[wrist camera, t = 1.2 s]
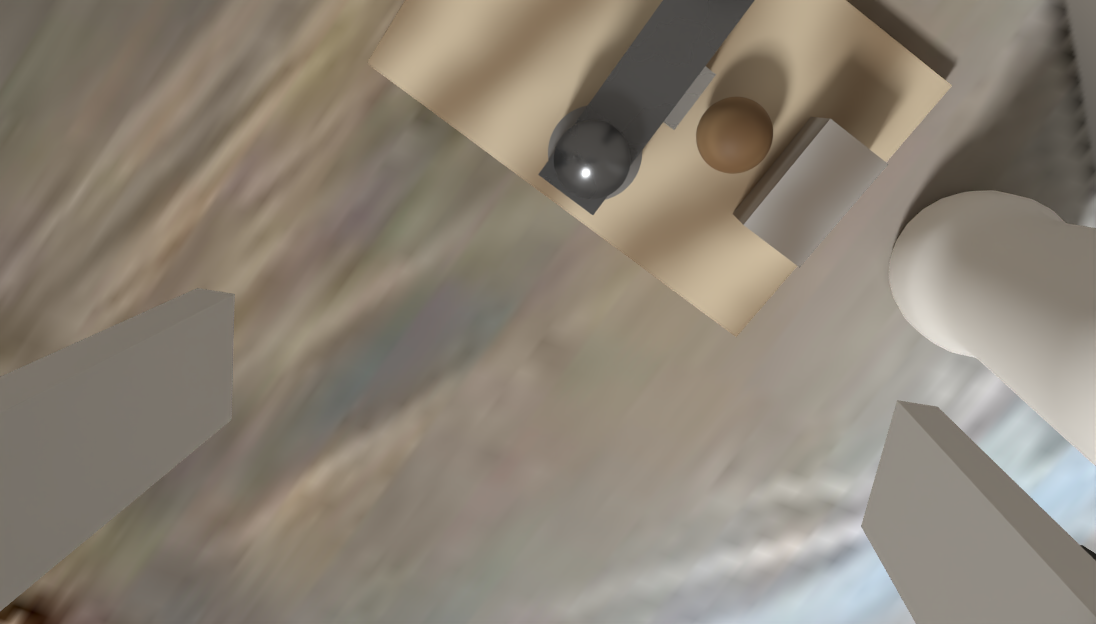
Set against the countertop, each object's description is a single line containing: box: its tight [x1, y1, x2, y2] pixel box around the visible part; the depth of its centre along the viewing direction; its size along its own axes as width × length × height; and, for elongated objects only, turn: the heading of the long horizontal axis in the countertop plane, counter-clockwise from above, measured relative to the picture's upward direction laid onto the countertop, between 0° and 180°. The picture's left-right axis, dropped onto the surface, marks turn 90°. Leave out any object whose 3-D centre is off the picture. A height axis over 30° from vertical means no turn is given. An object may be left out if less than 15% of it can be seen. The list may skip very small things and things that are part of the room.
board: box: [367, 0, 952, 337], centre depth 37 cm, size 24×16×5 cm, turn 54°
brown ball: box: [696, 97, 773, 174], centre depth 37 cm, size 4×4×4 cm
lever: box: [538, 0, 755, 215], centre depth 31 cm, size 4×15×14 cm, turn 144°
